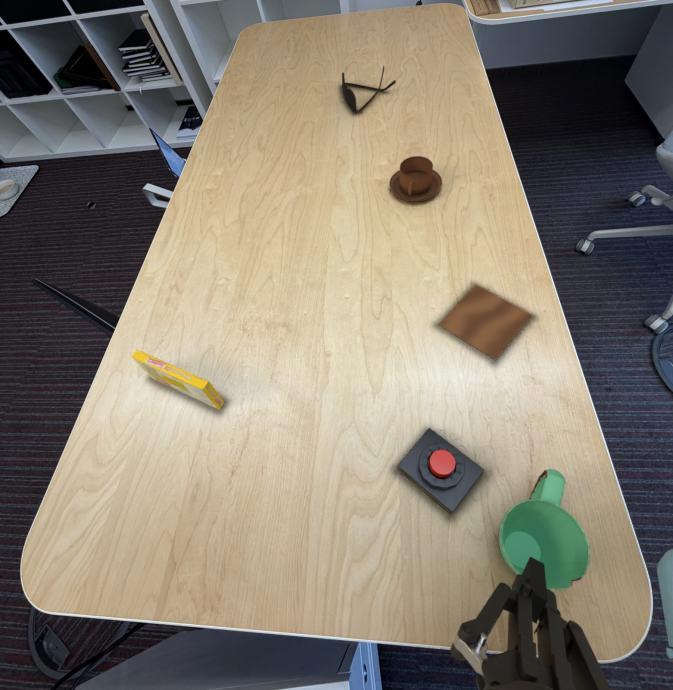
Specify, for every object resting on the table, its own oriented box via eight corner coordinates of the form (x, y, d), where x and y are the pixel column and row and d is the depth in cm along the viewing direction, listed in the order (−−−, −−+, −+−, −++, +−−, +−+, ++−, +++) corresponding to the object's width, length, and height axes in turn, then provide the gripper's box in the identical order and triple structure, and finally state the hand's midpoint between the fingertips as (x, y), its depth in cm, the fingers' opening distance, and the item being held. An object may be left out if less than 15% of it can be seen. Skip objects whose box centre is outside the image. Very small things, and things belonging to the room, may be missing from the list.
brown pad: (531, 316, 76) (532, 315, 76) (495, 360, 72) (495, 359, 72) (475, 285, 81) (475, 284, 81) (438, 325, 77) (438, 323, 77)
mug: (552, 605, 53) (583, 607, 45) (476, 569, 56) (491, 565, 48) (571, 497, 60) (601, 481, 51) (502, 470, 63) (520, 451, 54)
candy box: (226, 400, 74) (209, 380, 67) (220, 410, 73) (201, 391, 66) (159, 369, 79) (136, 348, 72) (152, 378, 78) (128, 357, 71)
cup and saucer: (444, 204, 94) (447, 180, 89) (391, 208, 95) (391, 186, 90) (437, 170, 100) (440, 147, 95) (387, 175, 101) (387, 152, 96)
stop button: (458, 464, 60) (460, 460, 59) (444, 482, 59) (445, 480, 58) (438, 448, 62) (439, 444, 60) (423, 466, 61) (424, 463, 59)
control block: (481, 473, 63) (487, 466, 59) (450, 514, 60) (454, 510, 57) (428, 432, 67) (430, 423, 64) (397, 469, 65) (397, 462, 61)
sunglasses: (400, 104, 116) (401, 86, 112) (351, 116, 116) (349, 98, 112) (384, 76, 125) (384, 58, 121) (338, 87, 125) (336, 69, 121)
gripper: (414, 761, 27) (462, 565, 48) (640, 938, 22) (582, 634, 44) (456, 670, 25) (486, 511, 47) (707, 838, 21) (612, 575, 42)
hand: (532, 570), depth 45 cm, fingers closed
